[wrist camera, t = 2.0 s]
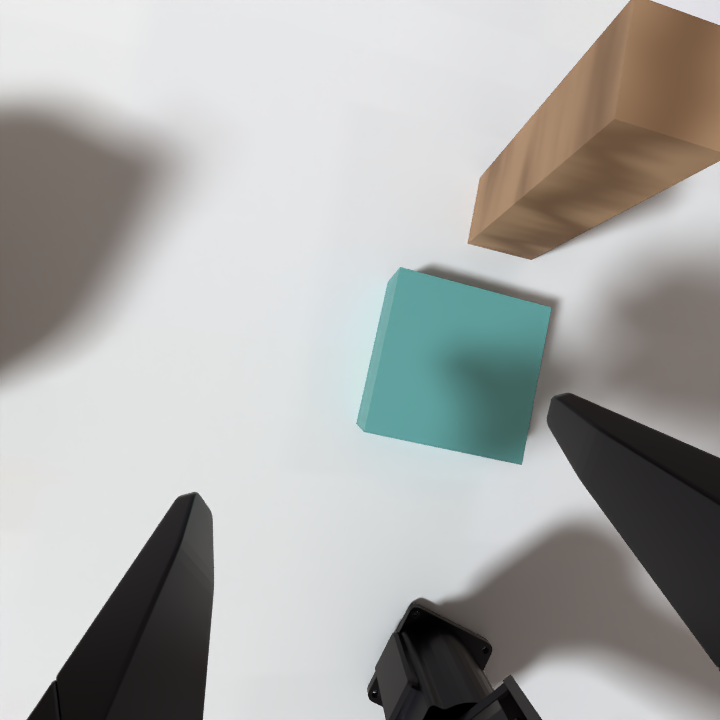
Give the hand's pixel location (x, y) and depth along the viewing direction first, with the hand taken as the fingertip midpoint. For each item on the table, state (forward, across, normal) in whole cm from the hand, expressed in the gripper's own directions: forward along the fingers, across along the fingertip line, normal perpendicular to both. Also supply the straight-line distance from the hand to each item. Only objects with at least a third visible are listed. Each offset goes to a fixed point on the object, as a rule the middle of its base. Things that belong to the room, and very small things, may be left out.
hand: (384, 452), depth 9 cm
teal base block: (+14, -7, +10) cm, 18 cm away
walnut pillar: (+19, -14, +2) cm, 24 cm away
